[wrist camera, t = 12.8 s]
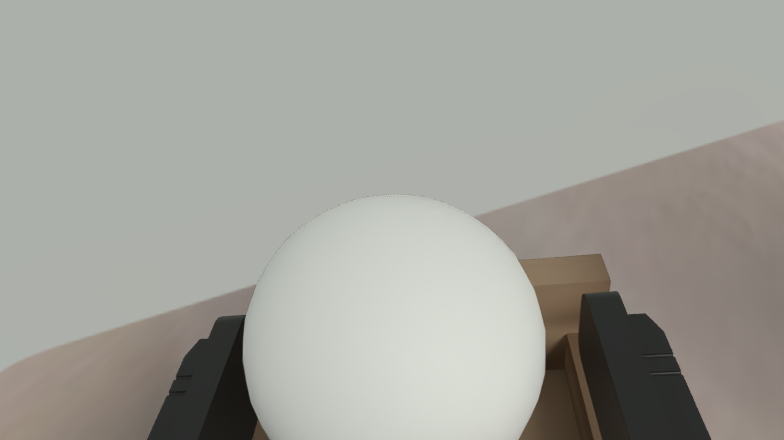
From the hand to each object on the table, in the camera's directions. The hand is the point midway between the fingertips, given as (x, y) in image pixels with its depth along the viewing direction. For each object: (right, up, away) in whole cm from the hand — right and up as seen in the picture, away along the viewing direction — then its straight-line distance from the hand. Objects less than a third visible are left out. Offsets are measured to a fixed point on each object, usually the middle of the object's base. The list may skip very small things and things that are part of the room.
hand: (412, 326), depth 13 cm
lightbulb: (+1, -6, +3) cm, 7 cm away
